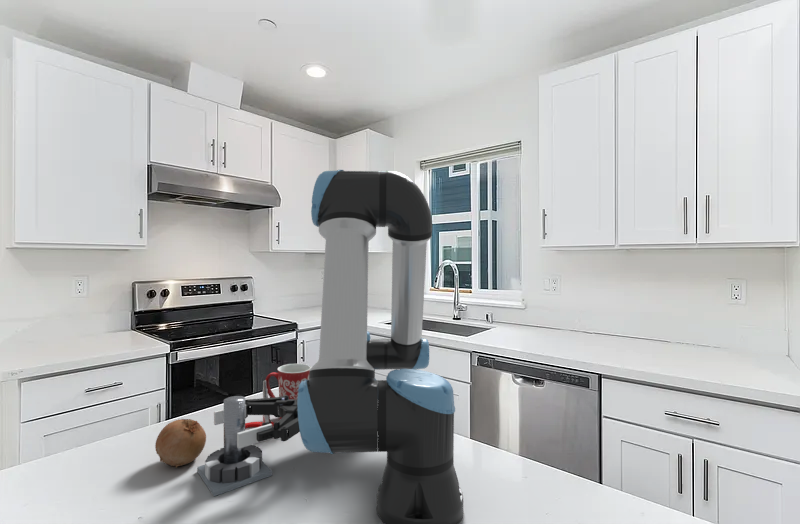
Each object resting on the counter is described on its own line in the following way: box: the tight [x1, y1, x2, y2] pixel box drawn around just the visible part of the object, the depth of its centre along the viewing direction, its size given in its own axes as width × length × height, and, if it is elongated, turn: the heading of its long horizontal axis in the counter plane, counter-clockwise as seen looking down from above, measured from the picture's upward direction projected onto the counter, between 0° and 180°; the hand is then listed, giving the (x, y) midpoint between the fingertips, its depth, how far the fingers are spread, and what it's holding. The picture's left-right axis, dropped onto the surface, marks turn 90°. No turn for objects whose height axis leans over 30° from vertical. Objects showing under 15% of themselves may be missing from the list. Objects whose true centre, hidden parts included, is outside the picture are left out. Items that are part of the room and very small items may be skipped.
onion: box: [154, 418, 207, 469], centre depth 87 cm, size 10×9×10 cm
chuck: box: [196, 444, 273, 497], centre depth 82 cm, size 11×11×4 cm
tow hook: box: [245, 380, 275, 429], centre depth 102 cm, size 8×13×9 cm
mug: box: [264, 363, 312, 420], centre depth 111 cm, size 13×9×14 cm
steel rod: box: [223, 395, 246, 464], centre depth 82 cm, size 4×4×14 cm
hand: (225, 428), depth 81 cm, fingers open, 13 cm apart
